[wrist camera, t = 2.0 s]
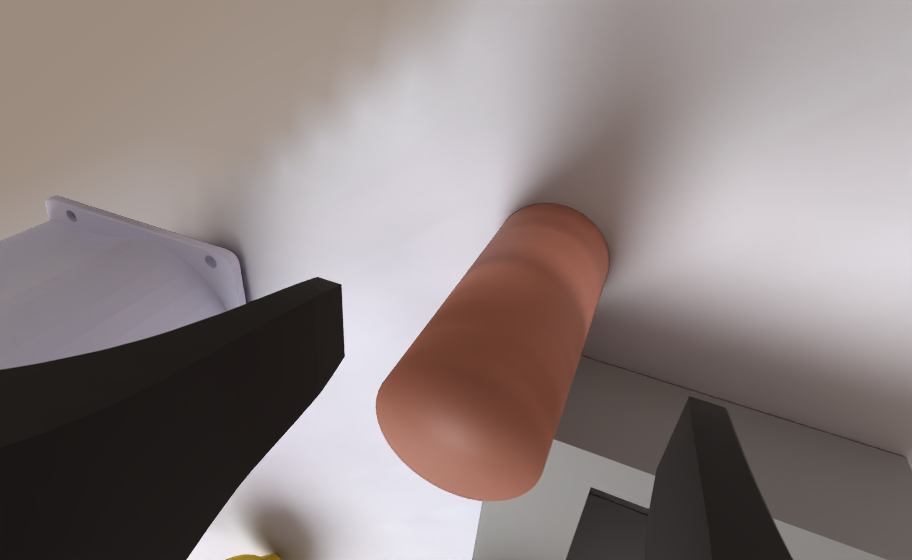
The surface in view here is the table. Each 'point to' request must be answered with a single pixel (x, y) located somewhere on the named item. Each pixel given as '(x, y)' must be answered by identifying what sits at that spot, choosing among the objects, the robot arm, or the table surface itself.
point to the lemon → (255, 557)
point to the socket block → (639, 453)
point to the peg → (499, 358)
